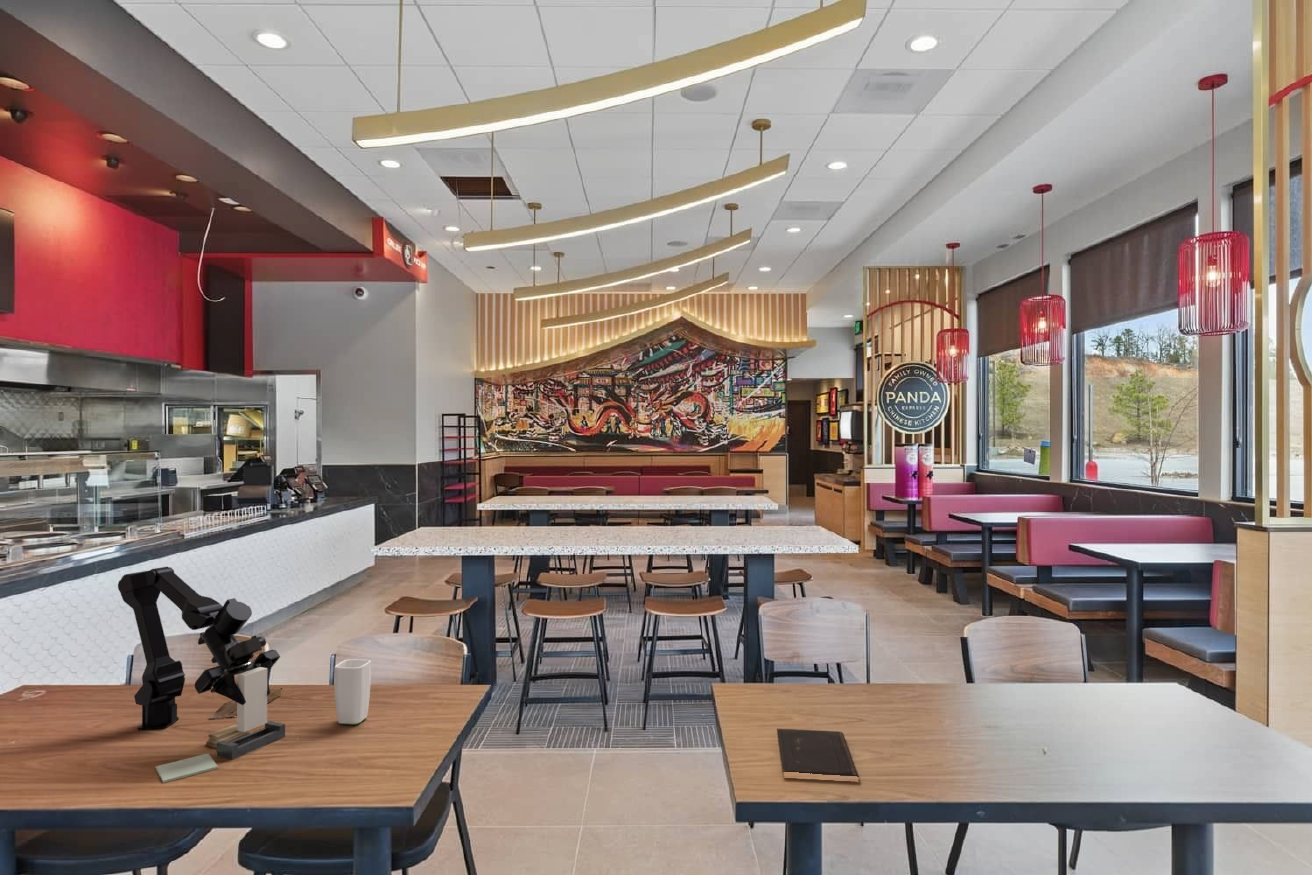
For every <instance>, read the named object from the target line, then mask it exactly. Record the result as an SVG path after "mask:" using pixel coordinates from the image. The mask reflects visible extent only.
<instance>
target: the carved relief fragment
mask: <svg viewBox="0 0 1312 875" xmlns="http://www.w3.org/2000/svg"><path fill="white" fill-rule="evenodd" d="M274 688H275V687H273V688H271V689H270V688H269V689H270V694H269V695H268V696H267V704H268V703H271V702H272V701H273V700H275V699H277V698H281V697H282V696H281V695H282V689H274ZM234 716H237V702H235V701H233V700H232V699H231V700H229V701H227V702H224V703H223V704H222V705H221V706H220V707H219V708H218V709H217V710H216V711H215V712H214V713H213V714H211V716H209V717H208V719H207V720H208V721H210V720H211V721H214V720H215V719H217V721H218V719H219V720H225V719H224V718H226V719H230V718H229V717H233V718H235V717H234Z"/></svg>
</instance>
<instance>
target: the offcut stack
mask: <svg viewBox="0 0 1312 875" xmlns="http://www.w3.org/2000/svg"><path fill="white" fill-rule="evenodd" d="M250 733H251V732H249V731H246V732H242V731H237V723H236V724H233V725H230V726H227V727H224V728H221V729H219V730H216V731H212V732H211V733H208V740H207V741H205V746H206V747H212V748H215V749H217V742H220V741H222V740H224V741H228V742H231V741H233V740H235V739H238V738H240V737H243V736H245V735H248V734H250Z"/></svg>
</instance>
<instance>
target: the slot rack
mask: <svg viewBox="0 0 1312 875" xmlns="http://www.w3.org/2000/svg"><path fill="white" fill-rule="evenodd" d="M284 737H285V738H286V724H285V723H282V722H276V721H272V720H270V721H267V723H265V724H264V727H263V728H259V729H258V730H257V729H256V730H255V731H252V732H250V734H248V735H245V736H243V737H240V738H238V739H235V740H233V741H231V742H228V741H224V740H222V741H220V742H217V748H216V757H219V758H224V759H228V760H235V759H237V758H240V757H241V756H244V755H245V754H249V753H251V752H252V751H255V750H258V749H260V748H262V747H264V746H267V745H269V744H271V743H274V742H276V741H278V740H280V739H283V738H284Z"/></svg>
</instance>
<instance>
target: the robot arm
mask: <svg viewBox="0 0 1312 875" xmlns="http://www.w3.org/2000/svg"><path fill="white" fill-rule="evenodd" d="M117 588H118V591H119V593H120V596H121V598H122V601H123V602H124V603H125V604H126V605H128V607H130V608H131V609H132V610H133V613H134V614H133V615H134V617H135V618H134V619H135V621H136V626H137V629H138V633H139V638H140V642H141V645H142V650H143V655H144V659H145V661H146V662H145V663H146V666H145V669H144V671H143V674H142V676H141V681H142V685H141V687H140V688H139V689H138V690H137V692H136V693H135V694H134V701H135V704H136V705H139V706H141V725H139V726H138V730H153V729H155V730H156V729H158V730H159V729H166V728H168V727H169V726H170V725H172V724H174V723H175V722H176V721H178V720H179V716H178V704H177V703H176V698H177V697H181V696H182V694H183V689H184V686H185V682H186V677H185V676H186V674H185V672H184V669H183V663H182V662H181V661H180V660H177V661H176V660H175V659H173V658H172V657H171V656H170V652H169V648H168V644H167V640H166V635H165V631H164V628H163V624H162V619H161V616H160V612H159V607H158V604H157V602H158V599H159V597H160V594H161V593H162V594H163V595H164V596H165V597H166V598H167V599H168V600H170V601H171V602H172V603H173V604H174V605H175V607H177V608H179V610H180V611H181V619H182V621H183V622H184V623H185V625H186V626H187V627H188V628H189V629H190V630H192V631H195V630H200V629H201V630H202V629H204V628H206V629H205V631H203V632H200V633H199V638H198V641H197V644H198V646H199V645H200V646H201V645H204V644H205V645H206V647H207V648H208V650H209V652H210V653H211V655H212V658H211V660H210V661H211V663H212V664H216V663H217V666H213V667H210V668H207V669H204V671H203V672H201V674H200V675H199V677H198V678H197V679H196V681H195V683H194V689H195V690H196V692H197V694H198V695H200V694H203V693H206V692H210V693H212V694H213V693H216V694H219V695H221V696H223V697H226V698H228V699H230V700H231V701H232V700H233V701H235V702H237V703H239V704H241V705H244V704H245V703H246V701H245V698H244V696H243V694H242V693H241V691H240V689H239V688H238V686H237V682H236V680H235V679H236V678H235V676H237V674H240V673H243V672H246V671H249V670H252V669H256V668H259V667H263V668H267V696H268V695H269V694H270V684H269V676H268V675H269V674H268V672H269V671H270V670H271V669H272V668H273V667H274V665H275V664H276V663H277V662H278V660H279V659H280V658H281V656H280V654H279V652H278V651H277V650H276V649H270V650H266V651H263V652H260V651H262V650H263V647H265V646H266V645H267V641H266V640H267V639H266V637H265V636H264V635H263V634H262V633H256V634H254V635H253V636H250V639H246V640H244V641H243V640H242V639H241V640H237V638H236V637H235V635H236V634H238V633H239V632H240V630H241V629H242V628H243V627H244V626H245V624H246V623H248V621H249V619H250V618H251V616H252V615H253V614H252V613H253V611H252V608H251V607H250V606H249V605H247V604H246V603H245V602H242V601H237V599H236V598H235V597H233V598H229V599H226V601H225V602H224V603H223V605H222V604H221V602H219V601H217V600H216V599H214V598H212V597H210V596H209V597H208V596H204V595H201V594H199V593H198V592H197V591H196V590H194V589H193V588H192V587H191V586H190V585H189V584H187V583H186V582H185V581H184V580H183V579H182V578H181V577H180V576H178V575H177V574H176V573H175V571H174V568H173V567H171V566H170V567H169V566H164V567H163V566H162V567H155V568H151V569H149V570H143V571H139V572H137V571H136V572H130V573H126V574H123V575H122V577H121V579H120V580H119V581H118V583H117ZM257 652H260V653H259V654H258V656H257V657H256V658H255V659H254V660H251V659H253V658H254V656H255V654H254V653H257ZM250 660H251V661H250Z"/></svg>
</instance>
